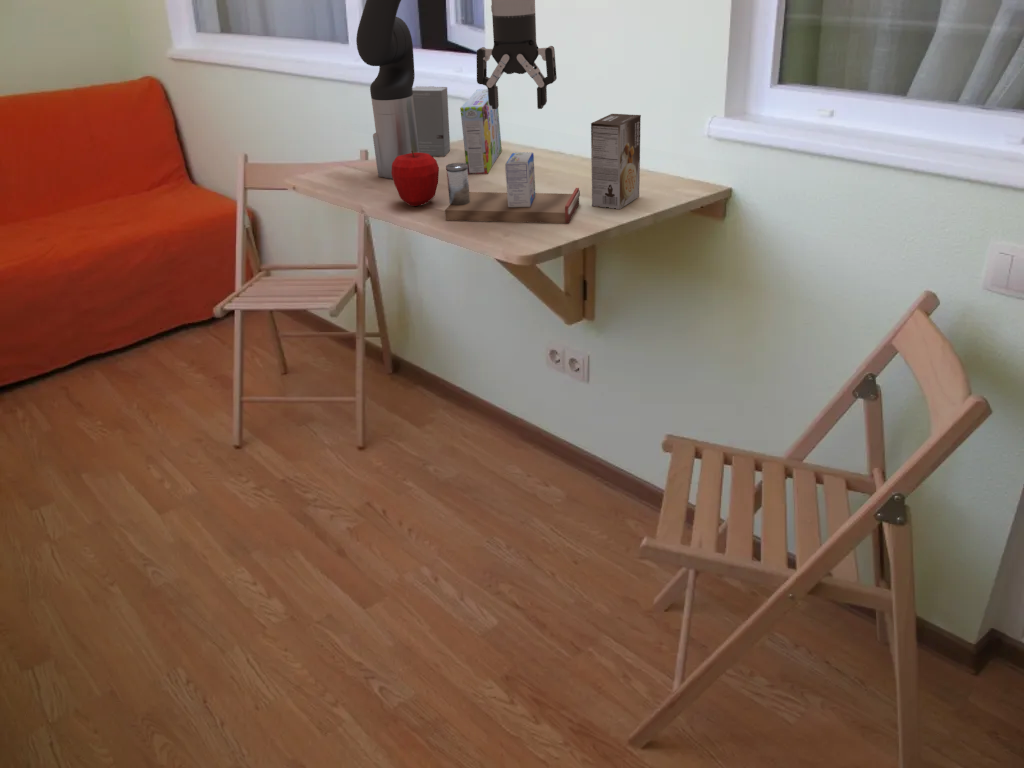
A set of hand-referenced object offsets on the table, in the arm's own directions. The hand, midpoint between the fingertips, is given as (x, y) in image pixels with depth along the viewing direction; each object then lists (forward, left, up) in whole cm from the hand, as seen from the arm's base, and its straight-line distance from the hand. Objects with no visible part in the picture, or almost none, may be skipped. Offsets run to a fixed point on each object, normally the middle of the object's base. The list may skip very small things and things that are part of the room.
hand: (517, 108), depth 150 cm
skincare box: (-33, +45, -20) cm, 60 cm away
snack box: (-18, +37, -20) cm, 46 cm away
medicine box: (0, 0, -18) cm, 18 cm away
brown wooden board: (-2, 0, -20) cm, 20 cm away
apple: (-23, +4, -20) cm, 31 cm away
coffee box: (+17, +8, -20) cm, 27 cm away
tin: (-12, -1, -18) cm, 22 cm away
